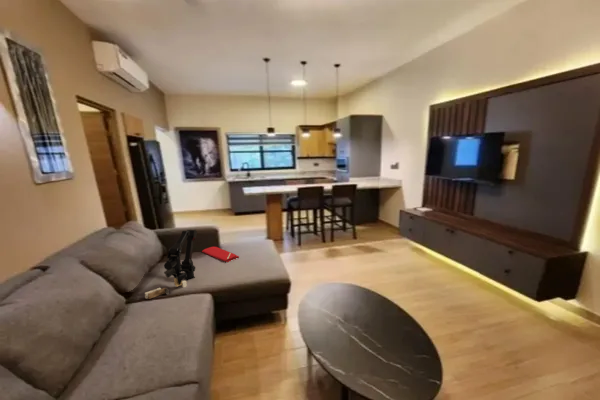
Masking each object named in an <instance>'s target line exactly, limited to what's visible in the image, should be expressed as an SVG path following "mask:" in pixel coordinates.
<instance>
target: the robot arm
mask: <svg viewBox="0 0 600 400" xmlns="http://www.w3.org/2000/svg"><path fill="white" fill-rule="evenodd" d="M197 236H198V231H197V230H196V229H186V230H182V231H181V234H180V236H179V238H178V239H177V240H176V242H175V244H173V245H171V246H170V248H169V249H168V252H167V255H166V259H167V260H166V261H165V262H164V264H163V265H164V269H165V271H164V272H163V274H164V275H165V276H166V277H167V278H170V277H171V276H172V277H173V279H174V278H176V279H177V280H178V284H179V285H180V284H181V282H182V281H183V279H185V281H191V280H192V279H195V278H196V276H195V273H194V272H195V271H196V266H195V265H194V262H193V261H194V260H192V256H193V250H194V241H195V240H196V239H197ZM185 242H186V246H185V253H184V254H185V255H184V259H183V260H182V261H181V256H182V252H183V249H182V248H183V246H184V244H185ZM180 286H181V285H180Z"/></svg>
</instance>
